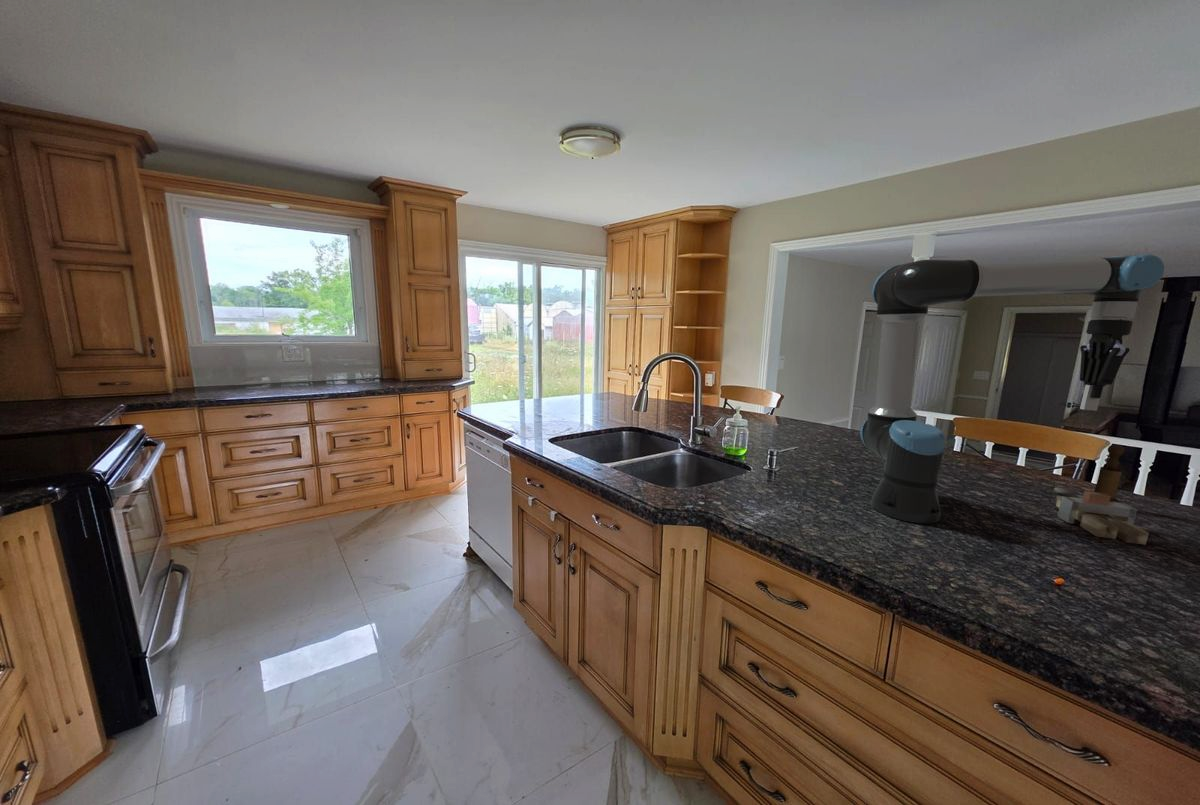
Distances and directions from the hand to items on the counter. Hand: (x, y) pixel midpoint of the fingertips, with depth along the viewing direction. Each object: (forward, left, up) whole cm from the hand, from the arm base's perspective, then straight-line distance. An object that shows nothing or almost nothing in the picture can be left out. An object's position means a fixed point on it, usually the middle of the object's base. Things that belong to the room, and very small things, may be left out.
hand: (1088, 409), depth 117 cm
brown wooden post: (+12, +6, -28) cm, 31 cm away
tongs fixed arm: (+2, -8, -28) cm, 29 cm away
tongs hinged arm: (-1, -7, -28) cm, 29 cm away
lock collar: (0, -10, -28) cm, 30 cm away
